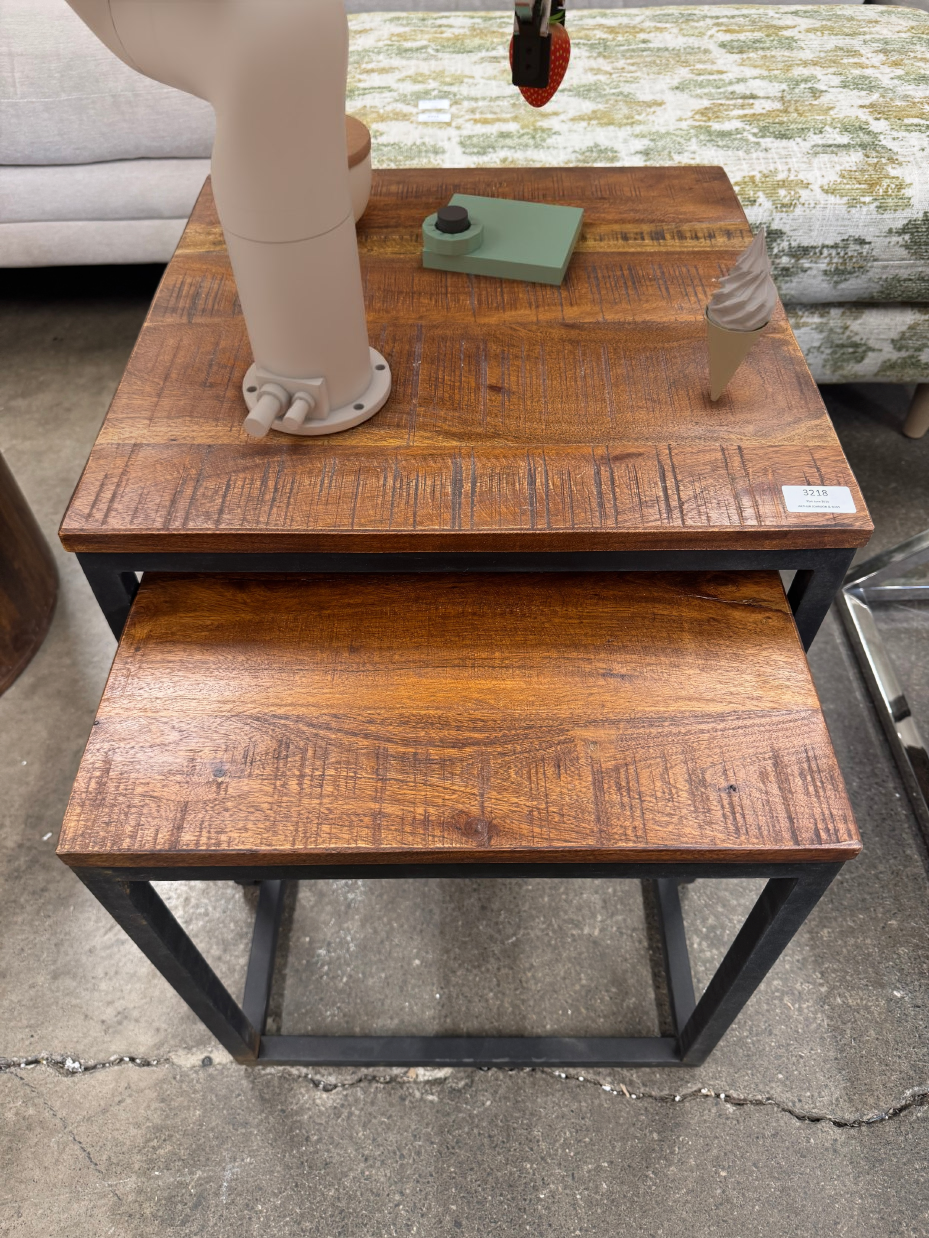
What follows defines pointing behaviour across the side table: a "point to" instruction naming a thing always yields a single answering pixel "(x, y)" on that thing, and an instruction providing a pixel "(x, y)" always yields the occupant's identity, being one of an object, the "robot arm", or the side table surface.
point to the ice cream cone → (739, 313)
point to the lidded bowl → (358, 164)
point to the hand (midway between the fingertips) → (537, 70)
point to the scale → (505, 239)
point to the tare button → (452, 219)
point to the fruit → (557, 64)
